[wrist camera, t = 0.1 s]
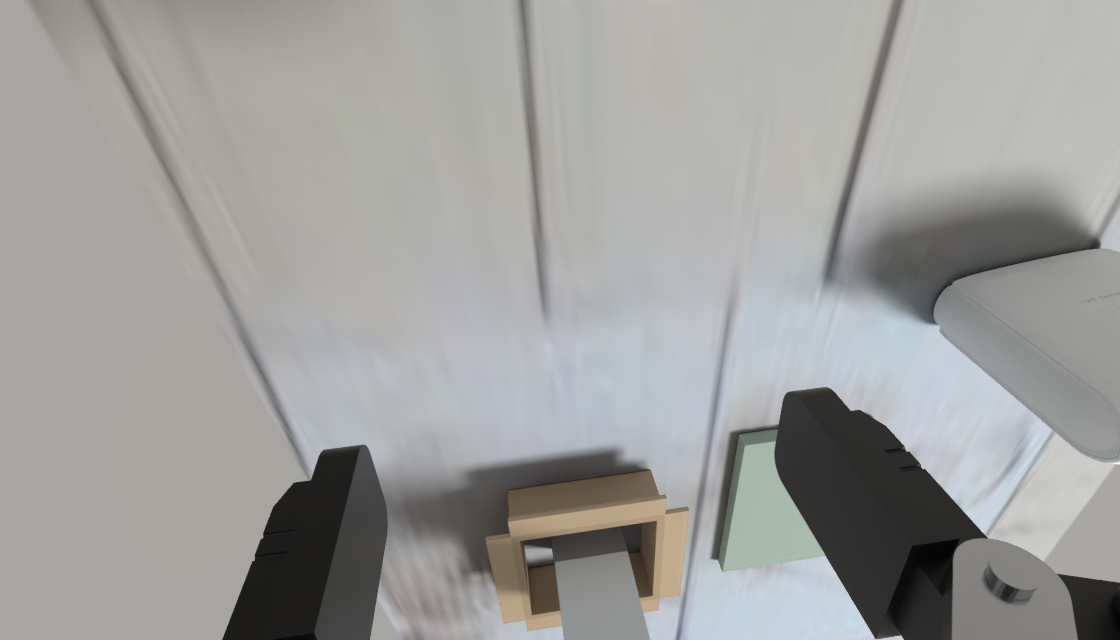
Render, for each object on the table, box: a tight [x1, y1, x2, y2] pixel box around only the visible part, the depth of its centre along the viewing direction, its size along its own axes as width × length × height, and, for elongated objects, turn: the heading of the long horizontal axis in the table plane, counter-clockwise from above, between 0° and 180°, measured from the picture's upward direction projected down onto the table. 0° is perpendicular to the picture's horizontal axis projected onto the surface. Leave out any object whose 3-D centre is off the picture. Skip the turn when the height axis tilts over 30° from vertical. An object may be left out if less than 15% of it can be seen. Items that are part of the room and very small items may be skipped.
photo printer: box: [934, 249, 1120, 464], centre depth 28 cm, size 10×4×12 cm, turn 99°
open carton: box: [485, 470, 689, 631], centre depth 39 cm, size 12×12×4 cm
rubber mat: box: [718, 416, 873, 572], centre depth 41 cm, size 14×9×1 cm, turn 3°
